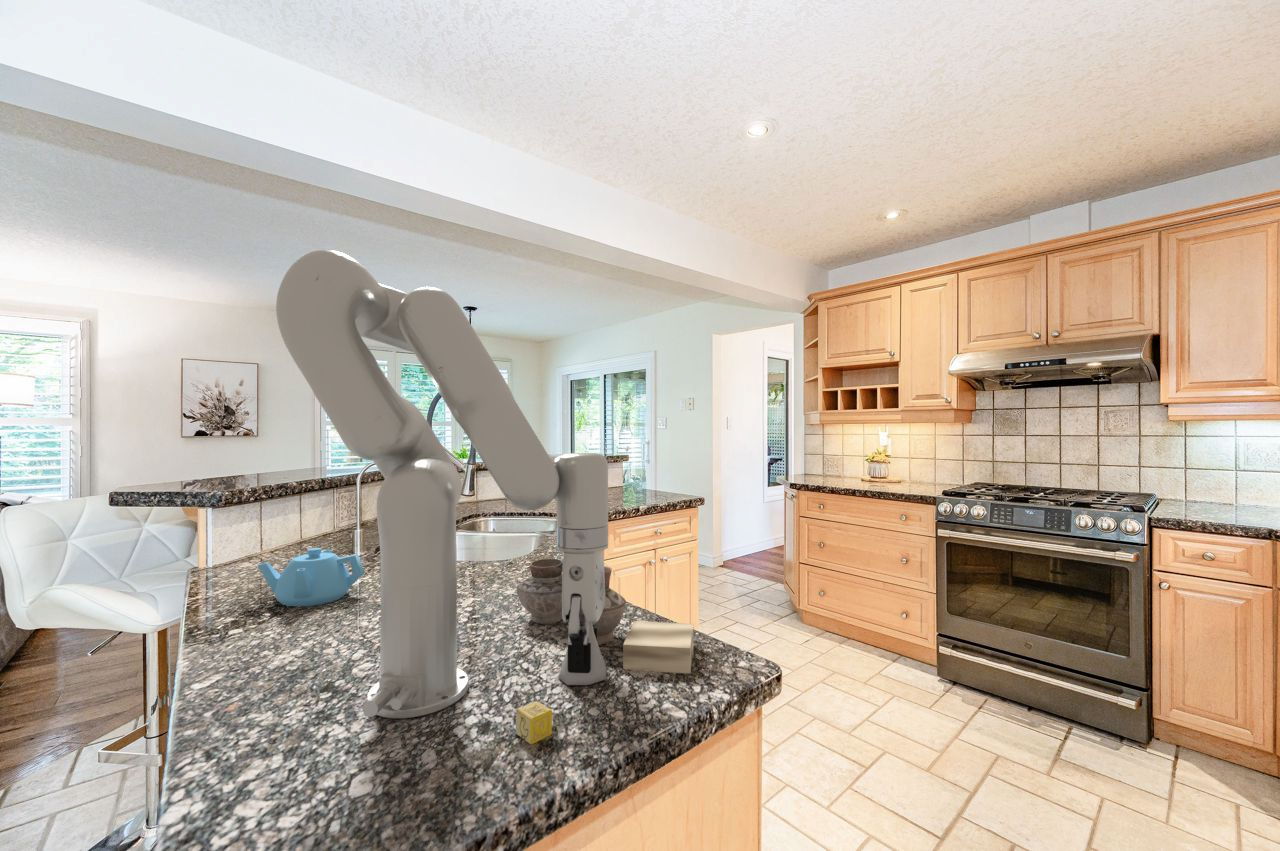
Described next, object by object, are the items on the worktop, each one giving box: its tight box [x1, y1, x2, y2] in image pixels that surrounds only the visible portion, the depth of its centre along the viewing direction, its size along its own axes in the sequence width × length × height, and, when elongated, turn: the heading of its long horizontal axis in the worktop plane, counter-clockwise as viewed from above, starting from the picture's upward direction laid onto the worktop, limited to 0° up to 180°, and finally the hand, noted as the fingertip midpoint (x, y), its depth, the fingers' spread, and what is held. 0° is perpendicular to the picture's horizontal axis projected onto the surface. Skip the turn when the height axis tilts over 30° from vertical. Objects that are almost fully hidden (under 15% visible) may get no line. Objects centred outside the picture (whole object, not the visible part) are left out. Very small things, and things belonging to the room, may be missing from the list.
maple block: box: [622, 620, 695, 674], centre depth 82 cm, size 10×10×4 cm
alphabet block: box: [515, 700, 553, 745], centre depth 61 cm, size 3×3×3 cm
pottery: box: [516, 558, 627, 645], centre depth 94 cm, size 11×25×12 cm, turn 47°
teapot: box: [257, 547, 366, 607], centre depth 112 cm, size 15×15×11 cm
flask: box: [557, 617, 608, 686], centre depth 75 cm, size 7×7×10 cm
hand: (582, 661), depth 75 cm, fingers closed on flask, 4 cm apart
